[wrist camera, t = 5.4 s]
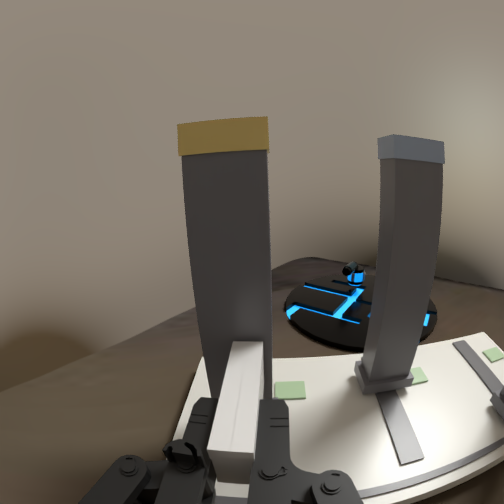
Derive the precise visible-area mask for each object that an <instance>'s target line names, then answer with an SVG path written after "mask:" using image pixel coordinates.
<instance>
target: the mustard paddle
mask: <svg viewBox="0 0 504 504" xmlns="http://www.w3.org/2000/svg"><path fill="white" fill-rule="evenodd" d="M177 129H178V153H179V156H182V172H183V189H184V203H185V214H186V226H187V237H188V246H189V256H190V265H191V273H192V281H193V289H194V296H195V304H196V311H197V318H198V325H199V332H200V338H201V344H202V350H203V356H204V362H205V368H206V373H207V379H208V384H209V389H210V394H211V398H219V397H220V393H221V389H222V385H223V380H224V376H225V372H226V368H227V364H228V360H229V356H230V351H231V347H232V343H233V341H252V342H263V360H264V390H263V399H278V397H273V374H272V286H271V245H270V244H271V243H270V210H269V183H268V157H267V153H269V133H268V117H246V118H231V119H220V120H210V121H200V122H192V123H184V124H178V125H177Z"/></svg>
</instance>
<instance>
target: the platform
mask: <svg viewBox="0 0 504 504" xmlns="http://www.w3.org/2000/svg"><path fill="white" fill-rule="evenodd" d="M342 273H343V275H332V276H325V277H321V278H317V279H313V280H310V281H308V282H305V286H300V285H299V286H297V287H296V288H295V289H294V290H293V291H291V293H290V294H289V296H288V297H287V301H286V312H287V316H288V318H289V319H290V321H291V323H292V324H293V325H294V326H295V327H296V328H297V329H298V330H299V331H301V332H302V333H303V334H305V335H307V336H308V337H310V338H312V339H314V340H316V341H318V342H321V343H323V344H326V345H328V346H331V347H335V348H339V349H343V350H348V351H355V352H364V347H365V342H366V337H367V331H368V325H369V319H370V313H371V306H372V299H373V291H374V283H375V276H373V275H366V273H365V272H364V267H363V266H360V265H358V264H357V263H356V262H354V261H353V262H350V263H349V264H348V265H347V266H345V267H344V269H343V271H342ZM436 321H437V310H436V307H435V305H434V303H433V302H432V301H431V299H429V304H428V309H427V313H426V317H425V321H424V325H423V329H422V333H421V337H420V340H419V342H421V341H422V340H424V339H425V338H427V337H428V336H429V334H430V333H431V332H432V331H433V329H434V327H435V324H436Z"/></svg>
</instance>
